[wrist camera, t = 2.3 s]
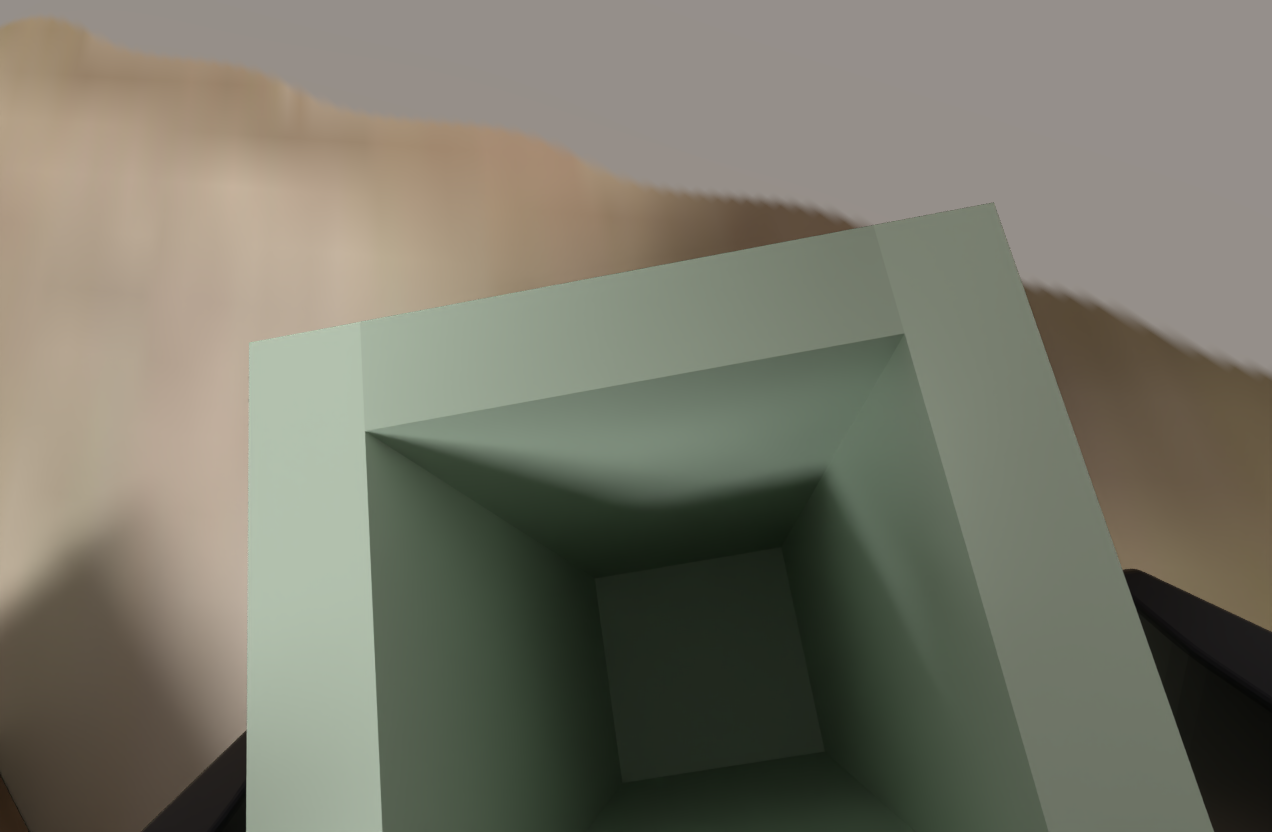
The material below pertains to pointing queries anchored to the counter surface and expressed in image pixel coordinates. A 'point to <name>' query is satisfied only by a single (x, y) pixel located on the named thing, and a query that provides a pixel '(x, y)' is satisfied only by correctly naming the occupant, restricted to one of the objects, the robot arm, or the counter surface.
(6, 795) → the walnut crate
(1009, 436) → the sage crate
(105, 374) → the counter surface
